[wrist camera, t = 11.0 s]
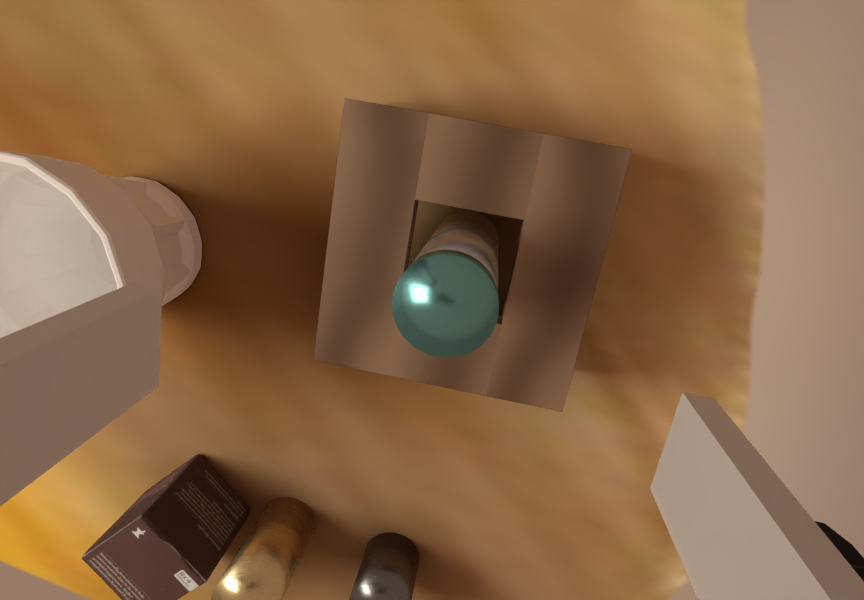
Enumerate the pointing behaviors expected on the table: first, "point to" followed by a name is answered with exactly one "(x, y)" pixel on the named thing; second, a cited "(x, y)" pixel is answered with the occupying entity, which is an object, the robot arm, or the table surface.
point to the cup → (85, 237)
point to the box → (170, 535)
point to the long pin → (451, 288)
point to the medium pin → (268, 553)
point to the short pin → (387, 569)
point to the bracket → (479, 191)
